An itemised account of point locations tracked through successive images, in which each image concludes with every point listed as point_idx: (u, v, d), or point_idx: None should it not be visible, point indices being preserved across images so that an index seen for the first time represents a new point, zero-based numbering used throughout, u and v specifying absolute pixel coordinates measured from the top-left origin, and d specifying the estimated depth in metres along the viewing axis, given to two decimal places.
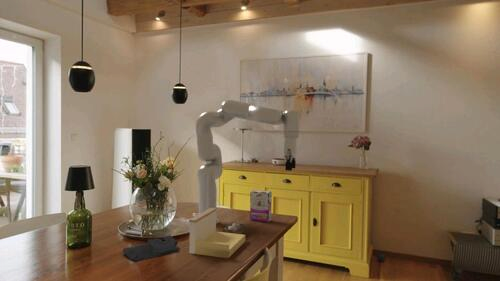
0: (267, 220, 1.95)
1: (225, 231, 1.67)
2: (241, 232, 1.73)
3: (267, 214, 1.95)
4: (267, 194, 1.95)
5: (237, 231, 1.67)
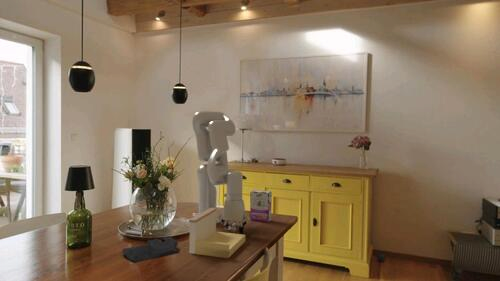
0: (267, 220, 1.95)
1: (225, 231, 1.67)
2: None
3: (267, 214, 1.95)
4: (267, 194, 1.95)
5: (237, 231, 1.67)
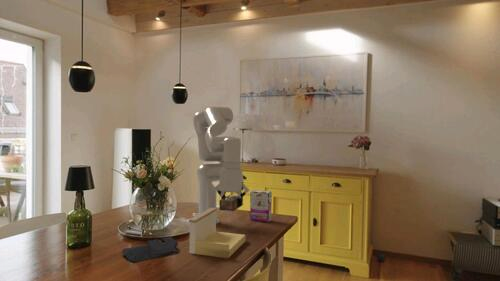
0: (267, 220, 1.95)
1: (222, 202, 1.52)
2: None
3: (268, 214, 1.95)
4: (267, 194, 1.95)
5: (235, 202, 1.52)
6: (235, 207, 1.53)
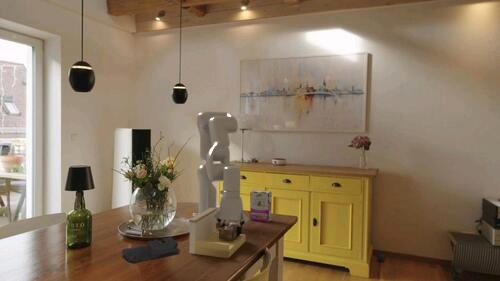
0: (267, 220, 1.95)
1: (221, 231, 1.53)
2: None
3: (267, 214, 1.95)
4: (267, 194, 1.95)
5: (234, 231, 1.53)
6: (235, 236, 1.53)
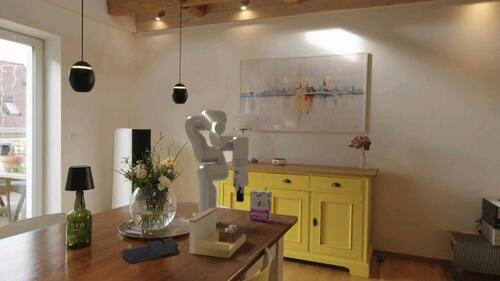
0: (267, 220, 1.95)
1: (221, 234, 1.53)
2: (239, 235, 1.59)
3: (268, 214, 1.95)
4: (267, 194, 1.95)
5: (234, 234, 1.53)
6: (234, 238, 1.54)
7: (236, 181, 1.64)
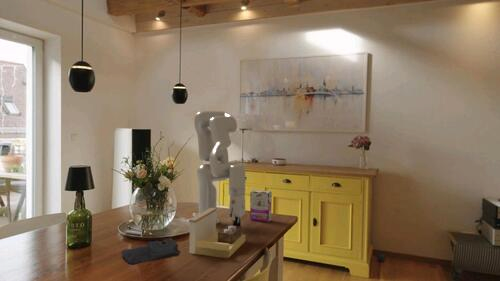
0: (267, 220, 1.95)
1: (220, 235, 1.52)
2: (238, 235, 1.58)
3: (267, 214, 1.95)
4: (267, 194, 1.95)
5: (233, 235, 1.52)
6: (234, 239, 1.52)
7: (232, 211, 1.60)
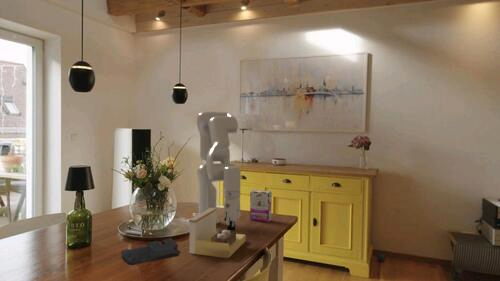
0: (267, 220, 1.95)
1: (213, 240, 1.45)
2: (232, 240, 1.51)
3: (267, 214, 1.95)
4: (267, 194, 1.95)
5: (227, 240, 1.45)
6: None
7: (227, 214, 1.53)
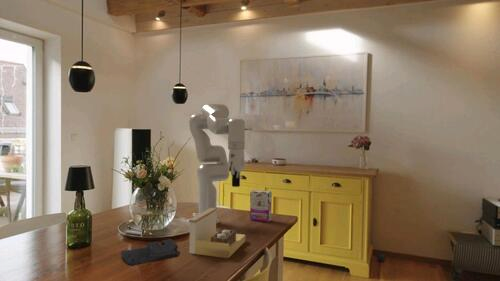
0: (267, 220, 1.95)
1: (213, 240, 1.45)
2: (232, 240, 1.51)
3: (268, 214, 1.95)
4: (267, 194, 1.95)
5: (227, 240, 1.45)
6: None
7: (231, 164, 1.58)
